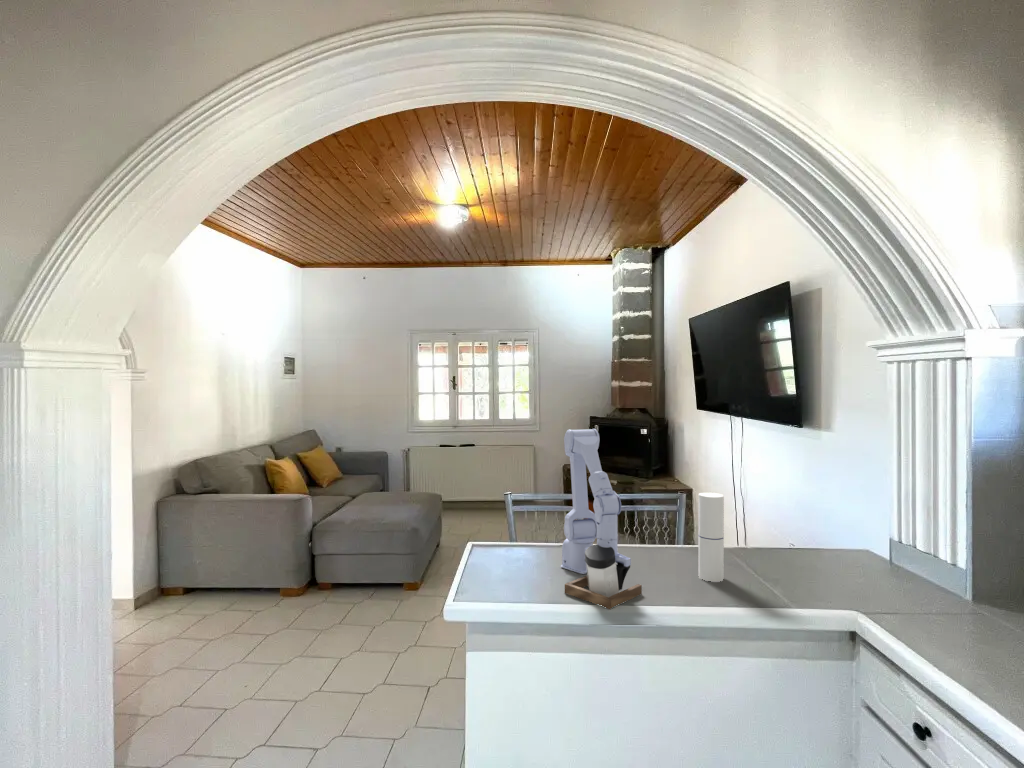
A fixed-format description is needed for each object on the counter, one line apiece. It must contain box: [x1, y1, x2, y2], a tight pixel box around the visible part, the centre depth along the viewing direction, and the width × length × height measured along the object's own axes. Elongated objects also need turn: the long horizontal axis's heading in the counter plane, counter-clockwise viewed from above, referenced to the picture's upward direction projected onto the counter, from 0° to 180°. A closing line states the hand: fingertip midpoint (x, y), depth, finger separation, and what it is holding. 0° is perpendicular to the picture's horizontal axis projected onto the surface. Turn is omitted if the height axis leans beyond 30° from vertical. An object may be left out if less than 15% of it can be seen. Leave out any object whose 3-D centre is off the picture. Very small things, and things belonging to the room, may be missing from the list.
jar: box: [585, 543, 620, 597], centre depth 152 cm, size 9×8×12 cm
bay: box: [564, 574, 643, 610], centre depth 154 cm, size 15×15×2 cm
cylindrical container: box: [697, 491, 725, 583], centre depth 166 cm, size 7×7×25 cm
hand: (607, 585), depth 155 cm, fingers open, 7 cm apart
